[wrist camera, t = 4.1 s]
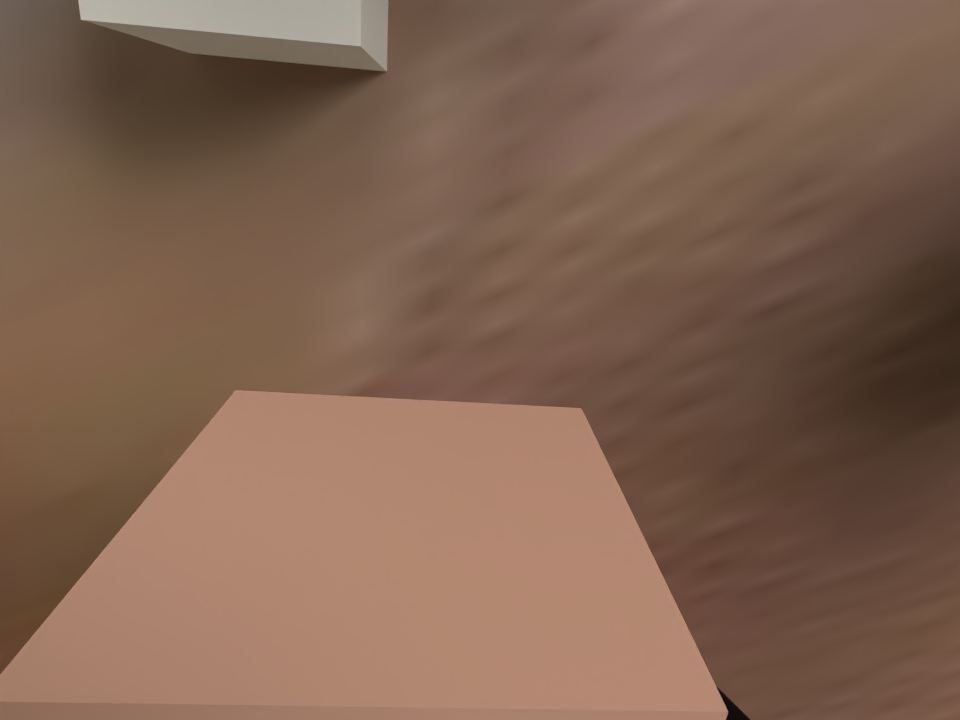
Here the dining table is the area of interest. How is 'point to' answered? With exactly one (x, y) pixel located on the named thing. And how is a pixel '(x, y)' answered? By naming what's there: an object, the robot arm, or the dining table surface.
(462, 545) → the terracotta block
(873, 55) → the dining table surface
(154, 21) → the offwhite block
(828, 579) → the dining table surface
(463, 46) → the dining table surface
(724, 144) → the dining table surface
